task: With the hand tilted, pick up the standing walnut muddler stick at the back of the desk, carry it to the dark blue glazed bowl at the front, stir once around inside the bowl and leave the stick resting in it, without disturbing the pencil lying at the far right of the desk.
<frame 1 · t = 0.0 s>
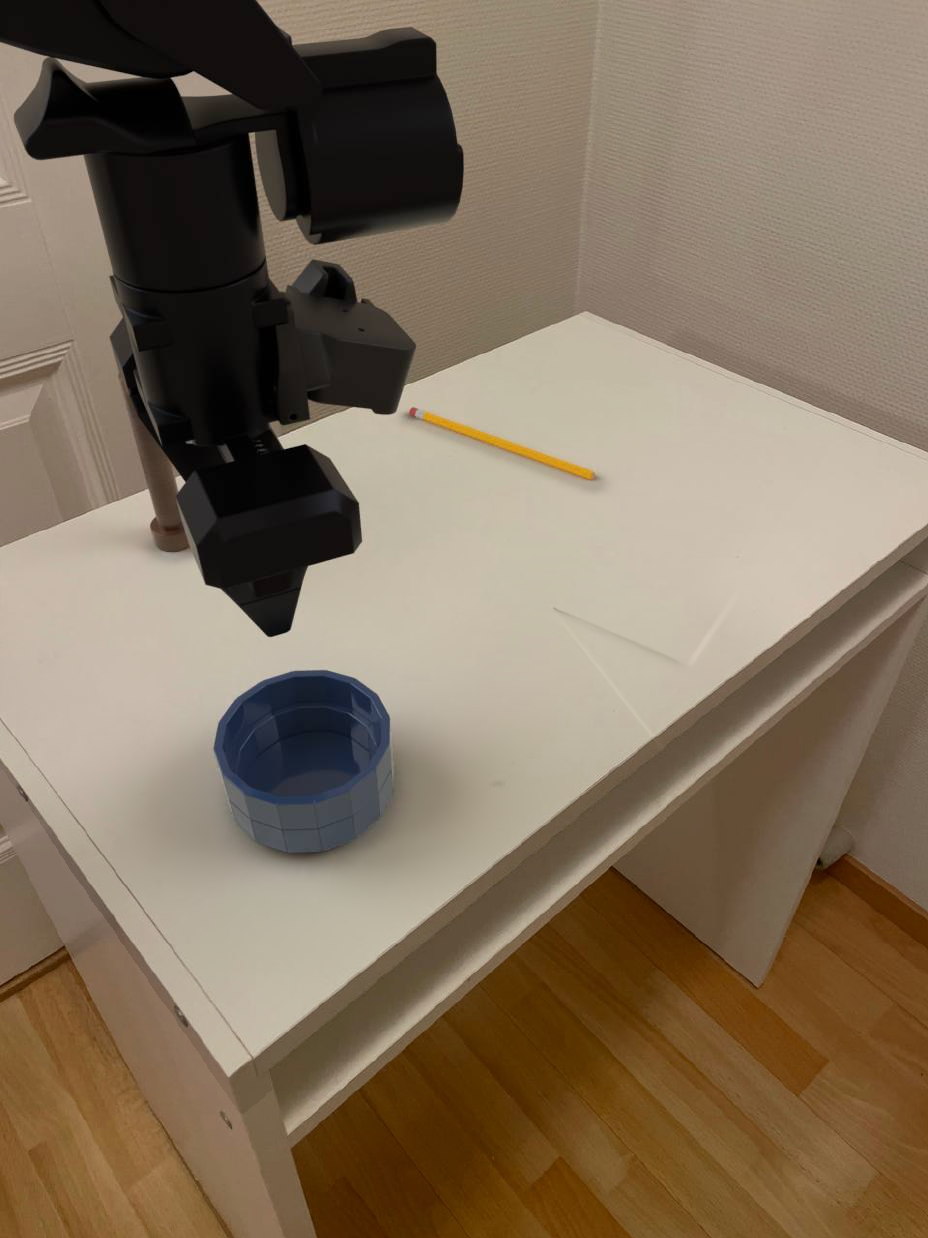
hand: (251, 573, 46), 14 cm above the table, tool pointing down, fingers open, 9 cm apart
muddler: (176, 538, 71), on the table
pencil: (497, 447, 81), on the table
bowl: (312, 788, 54), on the table
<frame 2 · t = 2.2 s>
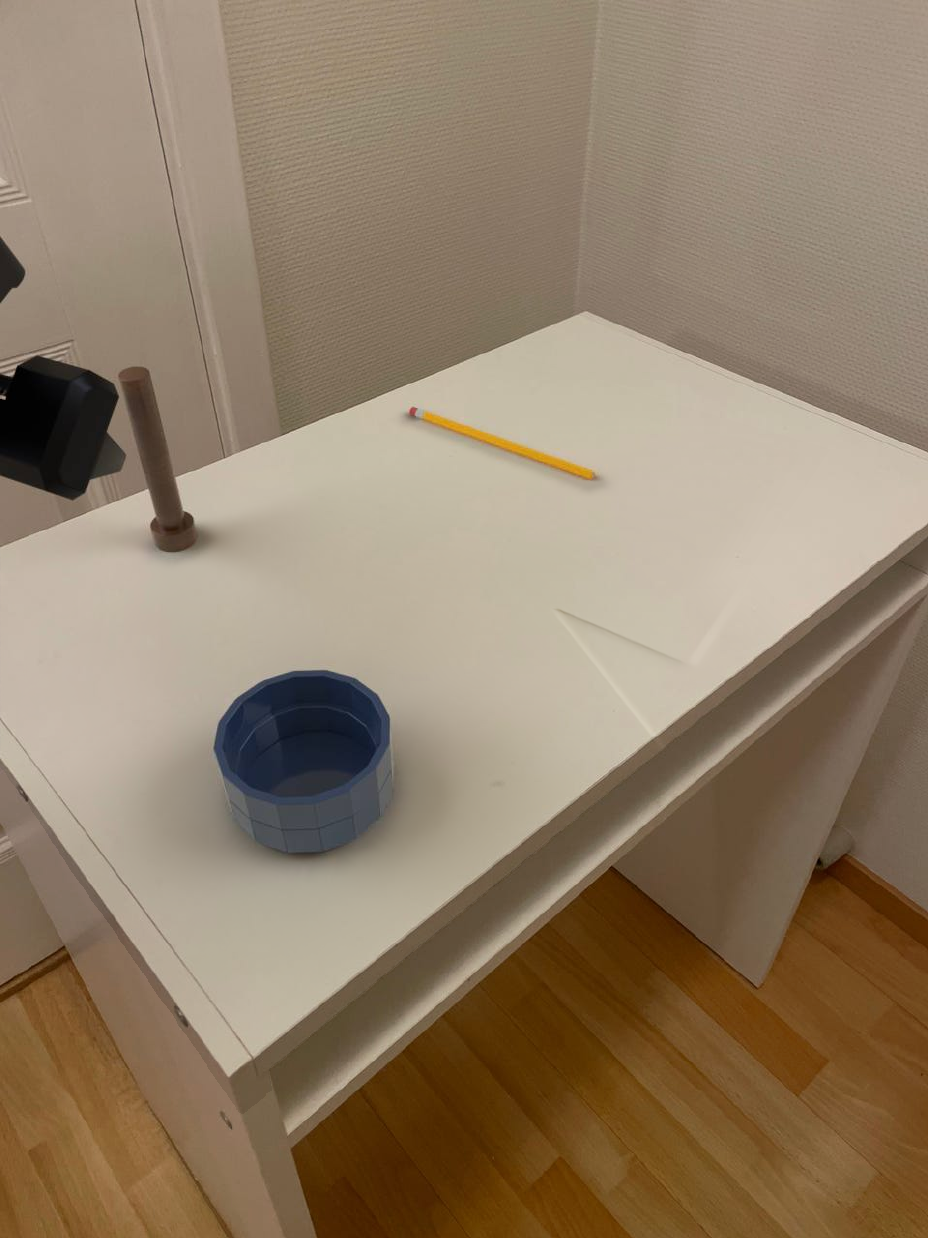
hand: (61, 443, 56), 13 cm above the table, tool tilted 45°, fingers open, 9 cm apart
nothing on the table moved.
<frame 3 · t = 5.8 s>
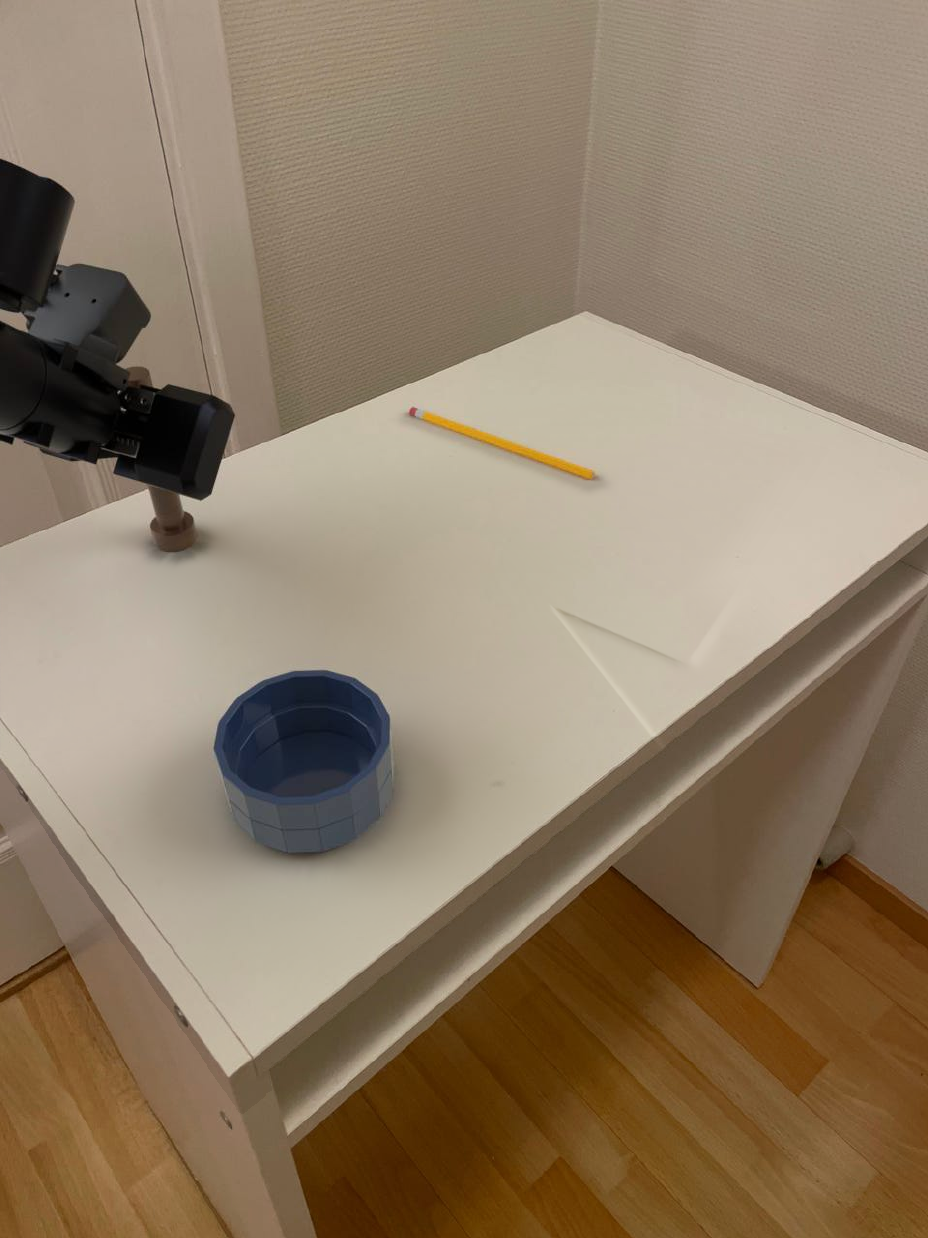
hand: (167, 449, 67), 7 cm above the table, tool tilted 45°, fingers closed on muddler, 2 cm apart
muddler: (176, 538, 71), on the table, touching gripper
everything else where it was.
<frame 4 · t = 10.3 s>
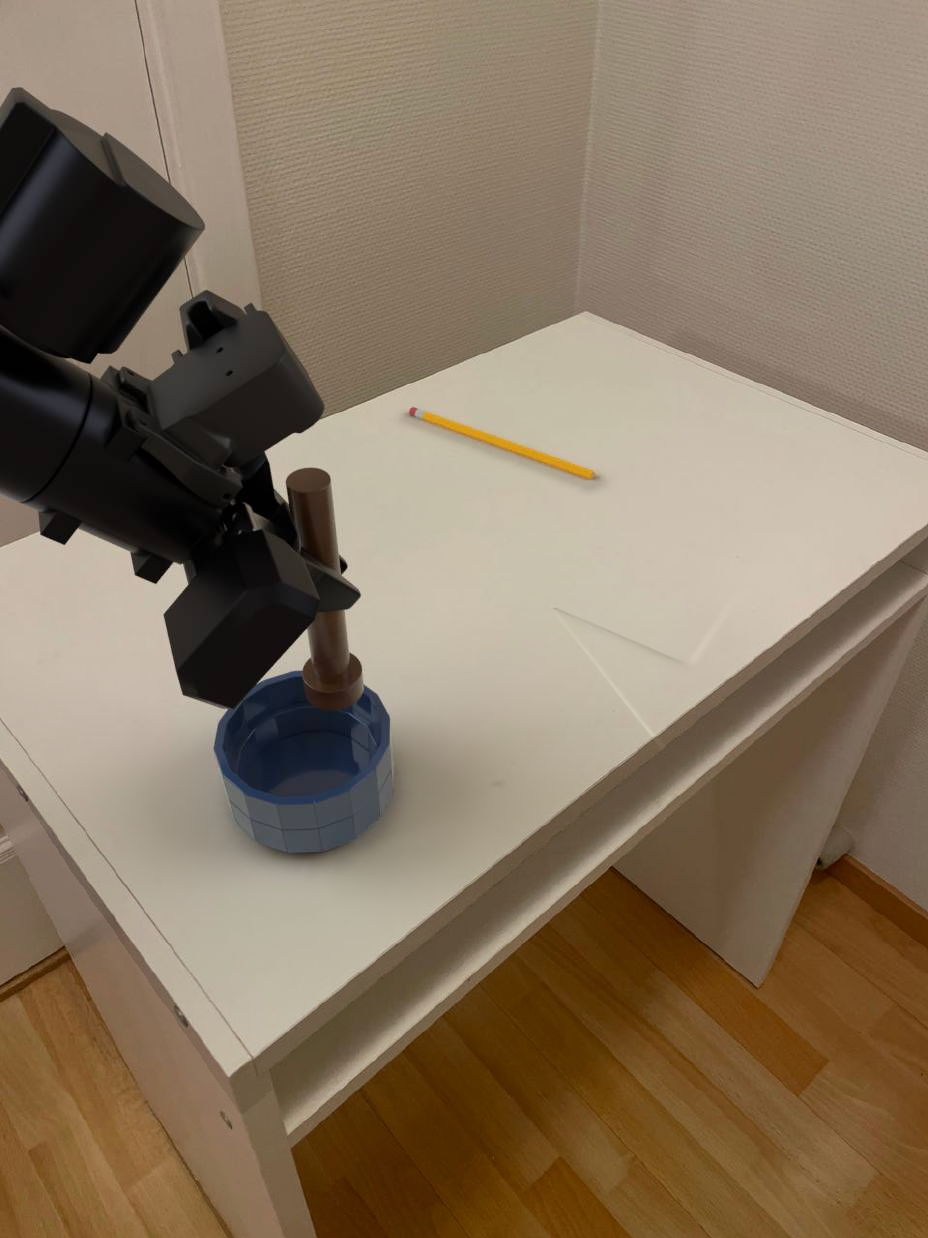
hand: (348, 585, 47), 14 cm above the table, tool tilted 45°, fingers closed on muddler
muddler: (334, 689, 51), point 6 cm above the table, touching gripper
everything else where it was.
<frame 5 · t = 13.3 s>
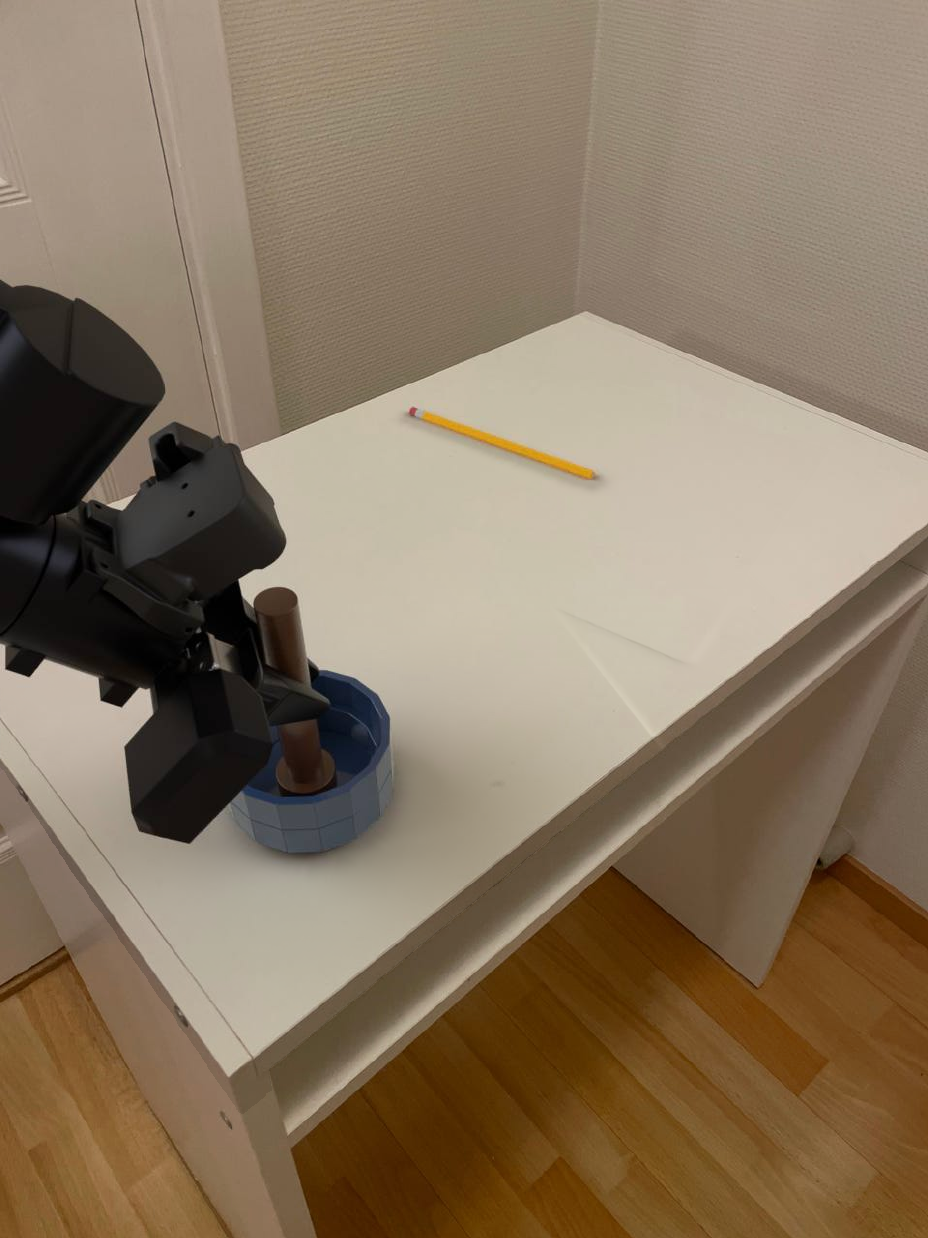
hand: (319, 693, 47), 9 cm above the table, tool tilted 45°, fingers closed on muddler, 2 cm apart
muddler: (308, 785, 52), point 2 cm above the table, touching gripper
everything else where it was.
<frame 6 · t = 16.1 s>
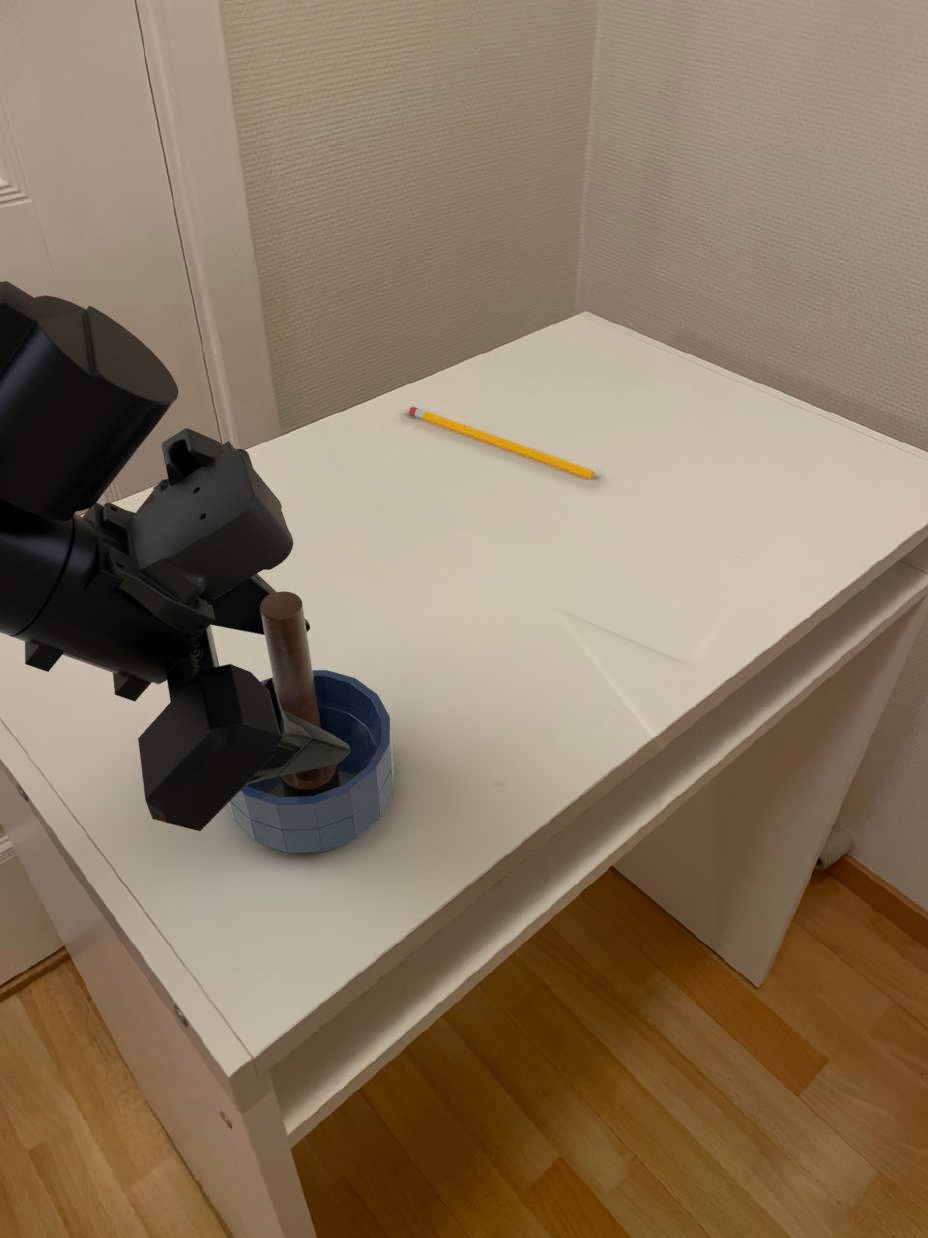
hand: (323, 689, 49), 8 cm above the table, tool tilted 45°, fingers open, 9 cm apart
muddler: (311, 782, 54), point 1 cm above the table, touching bowl
everything else where it was.
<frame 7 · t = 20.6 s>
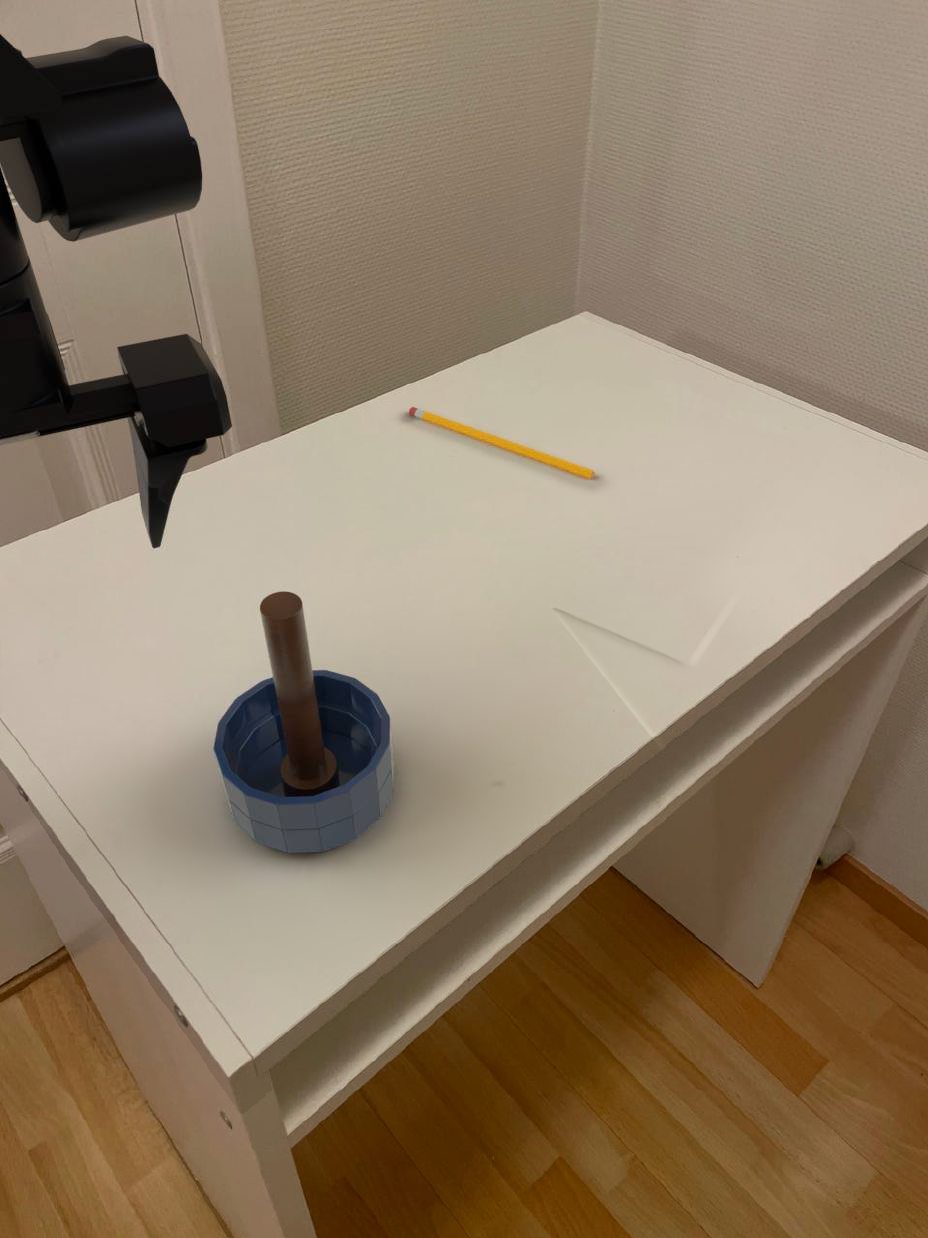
hand: (65, 566, 49), 13 cm above the table, tool pointing down, fingers open, 9 cm apart
nothing on the table moved.
at the end: muddler inside the target area in the bowl (0.0 cm from its centre), point 0.6 cm above the bowl's base; the gripper is holding nothing; pencil moved 0.3 cm from its start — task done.
